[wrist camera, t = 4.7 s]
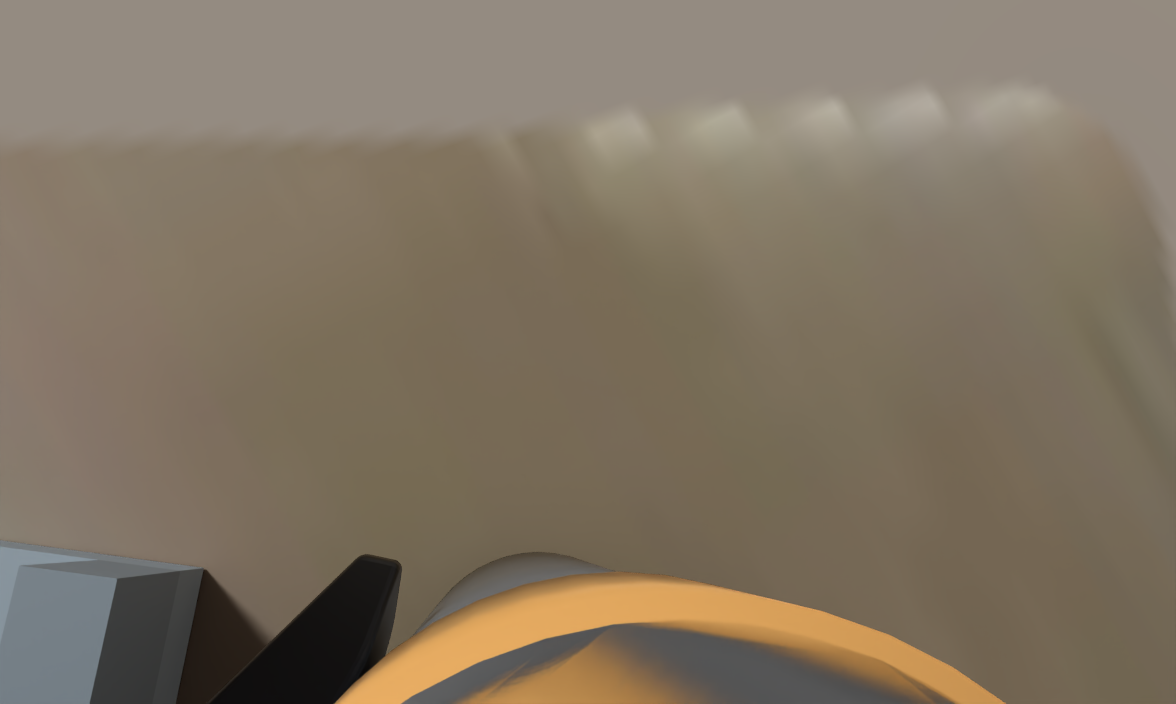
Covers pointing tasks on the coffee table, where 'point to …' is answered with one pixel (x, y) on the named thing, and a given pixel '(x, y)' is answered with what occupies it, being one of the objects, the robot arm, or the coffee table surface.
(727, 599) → the grey cylinder
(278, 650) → the robot arm
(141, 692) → the grey divided tray
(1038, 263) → the coffee table surface
